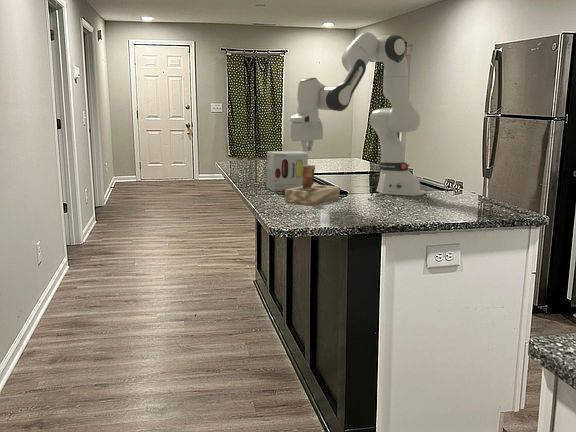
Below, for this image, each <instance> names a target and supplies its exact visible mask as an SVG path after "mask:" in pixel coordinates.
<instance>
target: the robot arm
mask: <svg viewBox="0 0 576 432" xmlns="http://www.w3.org/2000/svg"><path fill="white" fill-rule="evenodd" d="M406 52H407V44H406V41H405V39H404V37H402V36H401V35H398V34H390V35H389V34H387V35H380V36H375V34H374V33H372V32H369V31H365V32H362V33H360V34H359V35H358V36H357V37H356V38H355V39H354V40H353V41H352V42H351V43H350V44H349V45H348V46H347V48H345V51H344V52H343V54H342V56H341V64H342V66H343V68H344V69H345V71H346V72H347V73H346V75H345V76H344V79H342V82H340V84H337V85H334V86H326V85H325V84H323V83H321V82H320V80H318V78H317V77H307V78H303V79H301V80H299V82H298V86H297V95H296V96H297V104H298V105H297V111H296V113H295V114H294V115H293V116H291V117H290V120H289V121H290V123H291V124H290V139H291V141H292V142H300V145H301V147H302V152H305V153H308V152H312V149H313V146H314V142H315V141H316V140H318V141H319V140H322V139H323V137H324V129H323V128H324V127H323V123H322V120H321V119H320V117H319V114H320V113H319V112H320V111H321V110H322V111H323V110H324V111H334V112H335V111H336V112H342V111H343V112H344V110H346V109H347V108H348V107H349V105H350V103H351V101H352V97H353V94H354V92H355V90H356V89H357V87H358V85H359V84H360V83H361V81H362V79H363V77H364V75H365V73H366V70H367V65H368V63H369V62H371V63H375V62H377V63H378V62H379V63H380V62H381V63H383V79H382V81H383V83H382V84H383V85H382V88H383V89H382V91H383V92H382V94H383V97H385V98H386V99H387V100H388V101H389V102H390V105H391V107H382V108H378V109H374V110H373V111H372V112H371V114H370V117H369V124H370V127H371V128H372V129H373V130H374V131H375V133H376V135H377V136H378V138H379V142H380V161H379V179H378V183H377V188H376V192H378V193H380V194H383V195H394V196H395V195H396V196H407V197H409V196H414V197H415V196H422V195H425V194H426V191H425V190H421V182H420V180H419V179H418V178H417V177H416V176H415V175H414V174H413V173H412V172H411V171H409V167H410V164H409V163H407V162H405V161H406V160H405V159H406V145H405V143H404V142H403V141H402V140H400V138H399V136H398V133H404V134H405V133H411V132H415V131H417V129H419V127H420V125H421V115H420V114H419V111H417V110H416V109H415V108H414V107H413V105H412V102H411V100H410V98H409V67H408V60H407V56H406Z"/></svg>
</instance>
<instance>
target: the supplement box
mask: <svg viewBox="0 0 576 432" xmlns="http://www.w3.org/2000/svg"><path fill="white" fill-rule="evenodd" d="M308 155H309V154H308V152H303V150H280V151H279V150H277V151H275V150H274V151H273V150H272V151H270V150H269V151H267V152H266V188H267V189H268V190H270V191H272V192H282V191H284V192H285V190H286V189H291V188H296V187H301V186H302V166H304V165H309V164H308V163H309V162H308V161H309V160H308V158H309V157H308Z"/></svg>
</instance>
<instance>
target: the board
mask: <svg viewBox="0 0 576 432" xmlns="http://www.w3.org/2000/svg"><path fill="white" fill-rule="evenodd" d="M302 189H303V186H301V187H296V188H291V189H286V190H285V191H284V192H285V193H284V201H285V202H288V203H296V204H297V203H298V204H304V205H317V204H320V203H325V202H329V201H332V200H337V199H339V198H340V190H341V189H340V186H336V185H326V184H315V183H314V184H312V186H311V189H312V190H302Z"/></svg>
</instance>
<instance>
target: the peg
mask: <svg viewBox="0 0 576 432" xmlns="http://www.w3.org/2000/svg"><path fill="white" fill-rule="evenodd" d="M310 165H311V164H310ZM310 165H309V164H308V165H304V166H302V186H303V189H302V190H312V189H311V186H312V166H310Z"/></svg>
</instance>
